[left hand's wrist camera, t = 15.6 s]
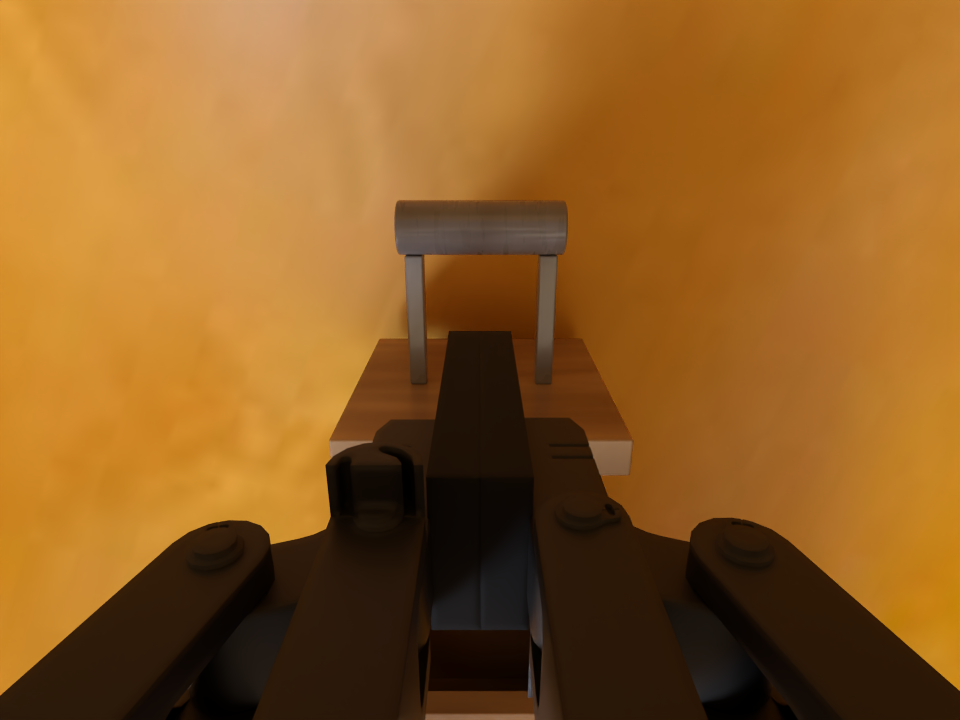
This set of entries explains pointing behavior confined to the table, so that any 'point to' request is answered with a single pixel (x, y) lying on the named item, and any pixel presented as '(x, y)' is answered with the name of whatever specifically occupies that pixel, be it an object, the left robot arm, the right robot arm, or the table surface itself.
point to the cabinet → (479, 705)
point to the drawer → (541, 372)
